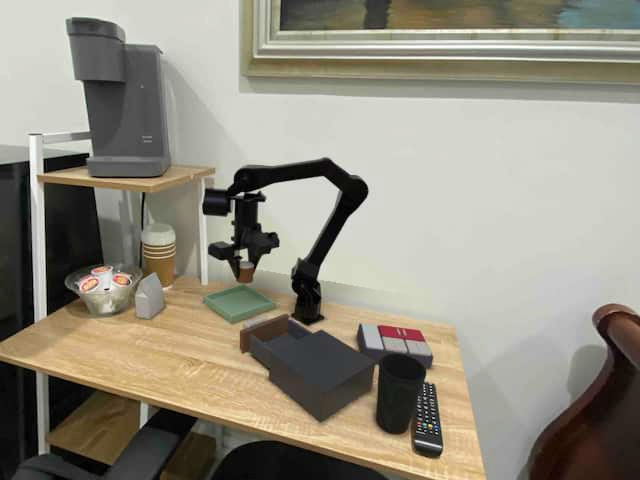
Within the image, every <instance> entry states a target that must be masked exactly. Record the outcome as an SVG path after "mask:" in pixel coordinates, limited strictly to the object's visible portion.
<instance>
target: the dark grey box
mask: <svg viewBox="0 0 640 480" xmlns="http://www.w3.org/2000/svg"><path fill="white" fill-rule="evenodd" d="M376 365H377V364H376V362H375V361H374V360H372V359H370V358H369V357H367V356H365V355H364V354H362V353H360V350H357V349H355V348H353V347H352V346H350V345H349V344H347V343H345V342H344V341H343V340H340V339H338V338H337V337H335V336H333V335H332V334H331V333H328V331H325V330H323V328H322V329H319V330H316V331H315V332H312V334H310V335H308V336H306V337H303V338H301V339H299V340H297V341H294V342H292V343H290V344H288V345H285V346H283V347H281V348H279V349H276V350H274V351H272V352H270V368H268V369H269V371H268V380H269V381H270V382H271V383H272V384H273V385H275V386H276V387H277V388H278V389H280V391H282V392H283V393H284V394H285V395H286V396H288V397H289V398H290V399H291V400H293V401H294V402H295V403H296V404H298V405H299V406H300V407H301V408H302V409H304V410H305V411H306V412H307V413H308V414H310V416H312V417H313V418H314V419H315V420H316V421H318V422H319V423H323V422H324V421H325V420H327V419H328V418H330V417H332V416H333V415H336V413H338V412H339V411H341V410H343V409H344V408H346V407H347V406H349V405H350V404H351V403H353V402H354V401H356V400H358V399H359V398H361V397H363V395H365V394H366V393H368V392H370V391H371V390H372V387H373V382H374V376H375V369H376Z"/></svg>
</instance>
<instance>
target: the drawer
mask: <svg viewBox="0 0 640 480" xmlns="http://www.w3.org/2000/svg"><path fill="white" fill-rule="evenodd" d="M242 328H243V329H240V330H239V350H240V351H241V352H245V351H247V350H248V353H249V354H250V355H252V356H253V357H254V358H255V359H256V360H258V361H259V362H261V363H262V364H263V365H264V366H265V367H267V368H268V369H269V368H270V352H272V351H274V350H276V349H279V348H281V347H283V346H285V345H288V344H290V343H292V342H294V341H297V340H299V339H301V338H303V337H306V336H308V335H310V334H312V333H313V332H312V331H311V330H309V329H307V328H306V327H304V326H303V325H301V324H299V323H298V322H297V321H294V320H293V319H290V315H289V313H283V314H281V315H278V316H276V317H272V318H270V319H267V318H266V317H265V316H261V317H258V318H255V319H253V320H250V321H247V322H245V323H242Z"/></svg>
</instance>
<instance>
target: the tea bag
mask: <svg viewBox="0 0 640 480" xmlns="http://www.w3.org/2000/svg"><path fill="white" fill-rule="evenodd" d="M134 300H135V301H134V303H135V312H136V313H135V314H136V317H137V318H140V319H141V318H142V319H147V320H150V319H152V318H153V317H155V315H157V314H158V313H159V312H160V311H161V310H163V309H164V308H165V304H164V303H165V302H164V301H165V300H164V287H163V285H162V283H161V281H160V279H159V277H158V274H157V271H154V272H152V273H151V274H149V275H148V276H146V277H145V278H143V279H141V280H140V281H139V283H138V287H137V289H136V292H135V295H134Z"/></svg>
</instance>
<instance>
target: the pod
mask: <svg viewBox="0 0 640 480" xmlns="http://www.w3.org/2000/svg"><path fill="white" fill-rule="evenodd" d="M253 269H254V264H253V263H252V262H249V261H248V260H241V261H240V275H239V279H236V278H235V282H237V283H238V284H241V285H242V284H246V285H248V284H251V283H253V282H254V275H253Z"/></svg>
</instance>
